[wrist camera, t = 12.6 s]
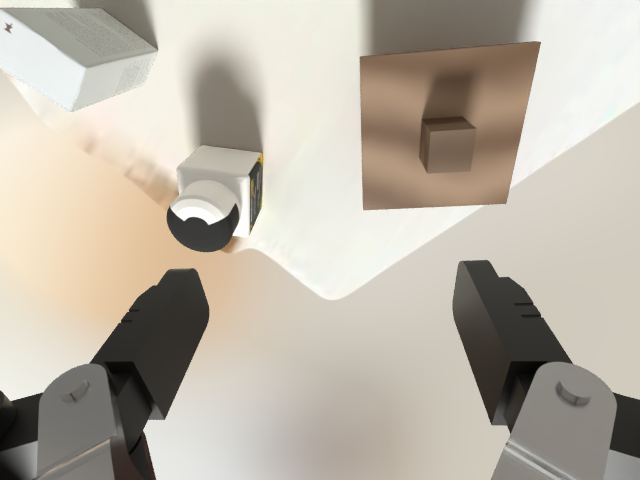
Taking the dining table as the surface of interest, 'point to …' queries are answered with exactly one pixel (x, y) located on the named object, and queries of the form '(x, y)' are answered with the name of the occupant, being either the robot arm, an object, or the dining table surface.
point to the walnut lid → (443, 124)
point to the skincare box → (72, 54)
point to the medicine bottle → (216, 197)
